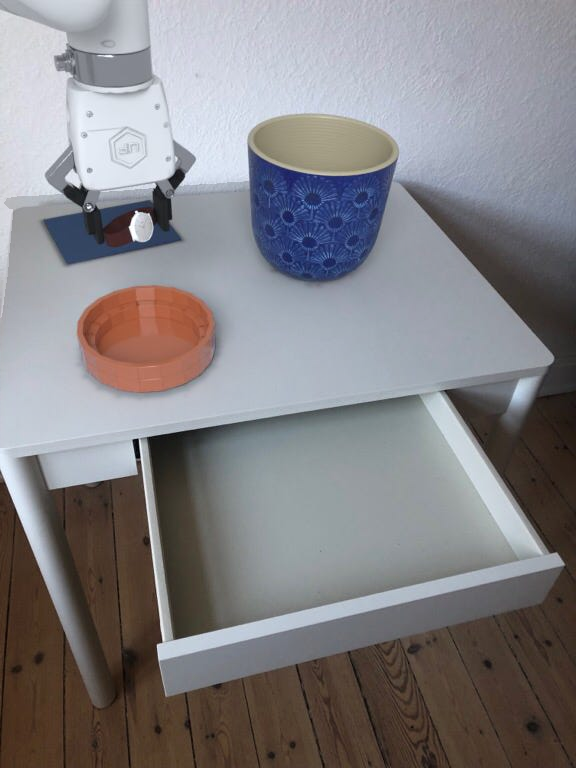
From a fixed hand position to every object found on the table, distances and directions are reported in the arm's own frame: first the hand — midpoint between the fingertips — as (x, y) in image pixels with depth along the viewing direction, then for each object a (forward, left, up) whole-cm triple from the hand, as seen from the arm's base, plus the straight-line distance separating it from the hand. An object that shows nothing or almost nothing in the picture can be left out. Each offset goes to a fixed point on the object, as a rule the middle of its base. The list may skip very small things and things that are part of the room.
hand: (130, 231), depth 72 cm
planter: (+30, +7, -16) cm, 34 cm away
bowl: (0, -3, -15) cm, 16 cm away
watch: (0, 0, -1) cm, 1 cm away
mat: (+5, +28, -15) cm, 32 cm away
